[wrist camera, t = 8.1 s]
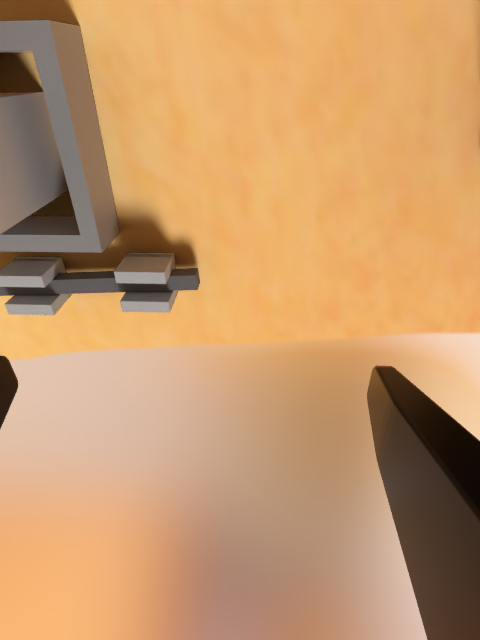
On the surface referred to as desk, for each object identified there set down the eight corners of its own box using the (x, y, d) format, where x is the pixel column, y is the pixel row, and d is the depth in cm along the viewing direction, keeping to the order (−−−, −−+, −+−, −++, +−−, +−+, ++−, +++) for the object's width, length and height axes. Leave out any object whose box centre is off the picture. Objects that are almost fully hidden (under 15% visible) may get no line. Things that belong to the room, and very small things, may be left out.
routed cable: (199, 253, 20) (192, 272, 18) (202, 295, 21) (196, 318, 19) (-9, 251, 20) (-36, 269, 18) (8, 292, 22) (-16, 313, 20)
